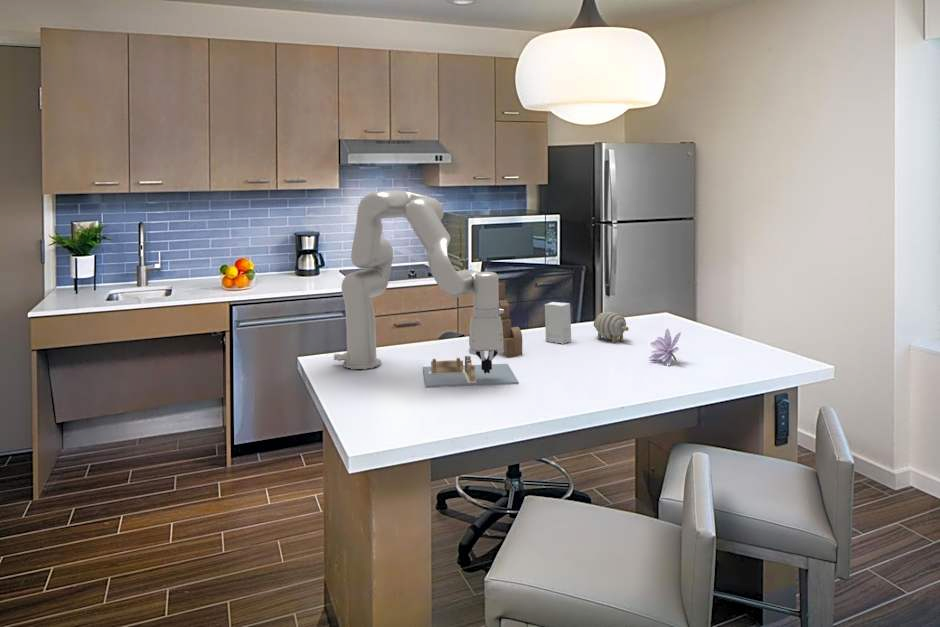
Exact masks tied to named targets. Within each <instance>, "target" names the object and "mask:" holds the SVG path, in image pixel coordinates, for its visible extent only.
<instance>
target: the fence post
mask: <svg viewBox="0 0 940 627" xmlns="http://www.w3.org/2000/svg"><path fill="white" fill-rule="evenodd" d="M467 360H471V361H472V359H471V355H465V356H464V365H465V372H467Z"/></svg>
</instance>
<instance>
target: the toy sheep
mask: <svg viewBox="0 0 940 627" xmlns="http://www.w3.org/2000/svg"><path fill="white" fill-rule="evenodd" d="M593 327H594V328H595V330H596V331H597V339H598V340H599V339H600V340H602V338H603V339H606V340H611V343H612V342H615V343H616V339H618V338H619V341H620V342H623V341H624V333H625V332H628V331H629V328H630V327H629V326H627V322H626V319H625V317H624V316H622V315H620V313H617V312H616V311H605V312H601V313H599V314H598V315H597V317H596V318H595V319H594V320H593Z"/></svg>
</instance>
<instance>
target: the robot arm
mask: <svg viewBox="0 0 940 627" xmlns="http://www.w3.org/2000/svg"><path fill="white" fill-rule="evenodd" d="M444 214H445V213H444V208H443V205H442V204H441V202H440V201H439V200H437V198H434V197H430V196H426V195H422V194H419V193H414V192H410V191H406V190H381V191H380V190H379V191H374V192H371V193H370V192H369V194H366V195H365V196H363V197H362V199H361V200H360V201H359V204H358V207H357V214H356V224H355V230H354V235H353V241H352V246H351V252H350V255H351V256H350V260H351V263H352V264H353V266H354V267H356V268H359V269H362V270H356V271H352V272H350V273H348V274H347V275H346V276H345V277H344V278H343V280H342V282H341V294H342V298H343V302H344V310H345V324H346V325H345V327H346V345H347V346H346V348H347V350H346V352H344V353H334V354H333V360H335V361H341V362H342V361H343V363H342V366H343V368H345V367H347V368H346V369H348V368H352V369H351V370H355V369H363V370H368V369H367V368H371V369H375V368H374V367H376V368H378V367H380V366H381V365H382V360H381V359H379V358H377V336H376V334H377V333H376V332H377V331H376V315H375V314H376V312H375V308H374V305H373V302H372V300H371V298H375V297H378V296H381V295H382V294H383V293H385V291H386V290H387V287H388V285H389V281H390V276H391V270H392V264H393V260H394V250H393V247H392V245H391V243H390V241H389V240H387V239H386V238H384V237H382V234H383V224H382V223H383V222H382V220H383V219H393V218H394V219H395V218H397V219H398V218H405V219H406V221H407V222H408V224H409V225H410V227H411V228H412V230H413V232H414V233H415V235H416V236H417V237H418V240H419V242H420V243H421V244H422V246H423V248H424V249H425V251H426V253H427V254H426V255H427V263H428V269H429V270H430V273H431V275H432V277H433V279H434V280H435V282H436V284H437V285H438V287H439V288H440V290H441V291H442V292H443V293H444V294H445V295H446V296H447V297H450V298H453V299H457V298H460V297H461V298H462V297H463V296H467V295H470V294H473V316H471V317H470V322H469V323H470V324H469V334H468V336H469V337H468V344H469V349H468V354H470V355H474V356H477V358H479V359H480V360H481V363H480V365H482V370H484V373H490V370H492V364H493V362H492V361H493V360H494V358H496V356H497V355H502V353H504V348H503V328H502V321H501V317H500V316H499V315H500V314H501V313H503V309H500V308H499V289H498V284H499V275H498V274H497V273H496V272H493V271H478V270H477V271H476V270H473V269H462V270H456V269H455V268H454V266H453V264H452V262H451V260H450V258H449V256H448V248H449V245H450V242H451V236H450V235H451V234H449V232H448V231H447V229H446V227H445V226H444V224H443V222H442V220H443V218H444ZM486 351H488V354H487V357H486V356H485V355H486V354H485V352H486ZM377 366H378V367H377Z"/></svg>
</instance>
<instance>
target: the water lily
mask: <svg viewBox="0 0 940 627" xmlns="http://www.w3.org/2000/svg"><path fill="white" fill-rule="evenodd" d="M681 334H682V332H678V333H676V335H675V336H674V338H673V339H672V336H671V332H670V330H669V328H666V329H665V332H664V338H663V337H661V336H657V337H656V340H654V341H651V342H650V343H649V344H650V346H651V347H652V348H653V349H656V350H652V351H651V352H650V354H651V355H650V356H649V357H648V359H649V360H648V361H653V360H657V359H660V358H661V357H662V359H661V361H662V362H664V363H665V365H666V364H669V366H670V365H671V363H672V359H674V361H675V360H676V359H677V358H676V356H675V355H674V353H677V352H678V351H679V347H677V346H676V345H677V343H678V341H679V339H680V336H681ZM676 361H677V360H676Z"/></svg>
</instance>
